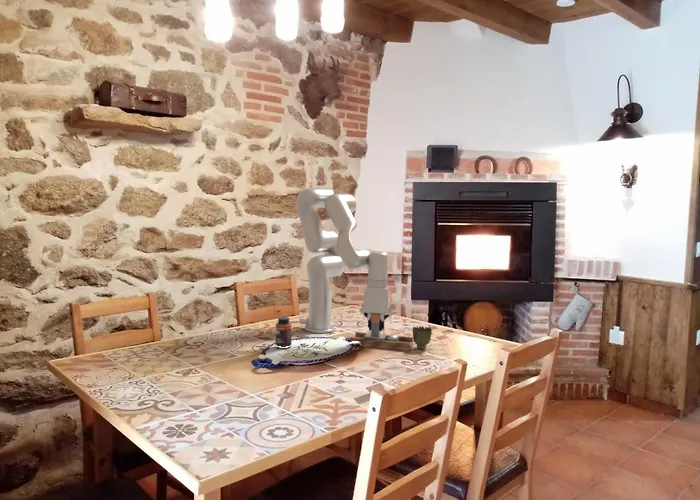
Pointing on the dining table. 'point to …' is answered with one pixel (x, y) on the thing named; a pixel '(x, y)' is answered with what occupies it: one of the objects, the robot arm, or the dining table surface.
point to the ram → (375, 330)
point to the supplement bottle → (283, 332)
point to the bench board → (384, 342)
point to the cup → (421, 336)
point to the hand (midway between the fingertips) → (375, 329)
